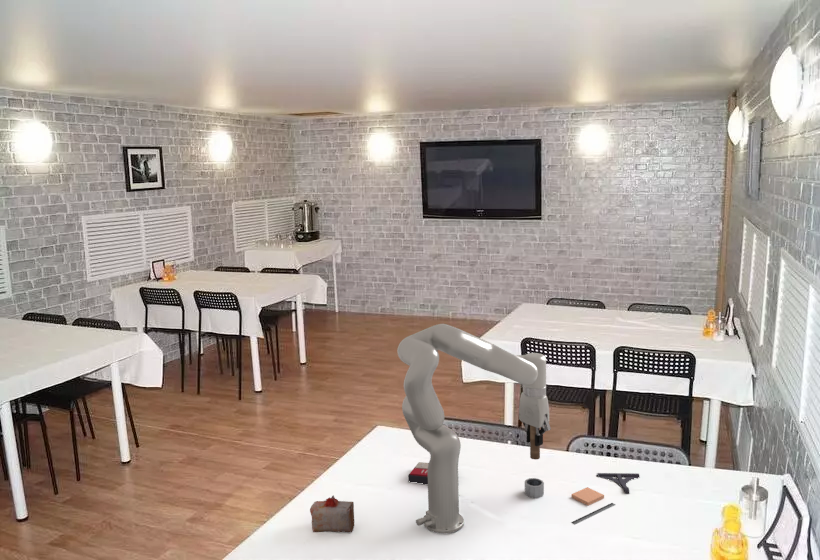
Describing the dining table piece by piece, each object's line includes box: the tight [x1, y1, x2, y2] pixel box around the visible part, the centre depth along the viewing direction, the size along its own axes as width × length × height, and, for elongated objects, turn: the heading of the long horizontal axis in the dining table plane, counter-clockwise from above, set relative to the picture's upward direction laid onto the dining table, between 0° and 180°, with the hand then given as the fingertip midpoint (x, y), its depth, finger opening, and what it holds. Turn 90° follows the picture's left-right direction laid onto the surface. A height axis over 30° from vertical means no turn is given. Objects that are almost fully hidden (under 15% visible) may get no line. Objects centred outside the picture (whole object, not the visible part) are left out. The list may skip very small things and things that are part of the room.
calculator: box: [407, 461, 429, 485], centre depth 233 cm, size 11×4×15 cm
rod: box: [529, 425, 541, 460], centre depth 215 cm, size 3×3×14 cm
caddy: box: [524, 477, 545, 499], centre depth 218 cm, size 6×6×5 cm
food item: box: [309, 495, 355, 533], centre depth 201 cm, size 14×8×10 cm, turn 84°
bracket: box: [596, 472, 640, 495], centre depth 225 cm, size 14×15×3 cm
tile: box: [571, 487, 605, 506], centre depth 214 cm, size 2×7×8 cm
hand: (534, 442), depth 215 cm, fingers closed on rod, 3 cm apart
